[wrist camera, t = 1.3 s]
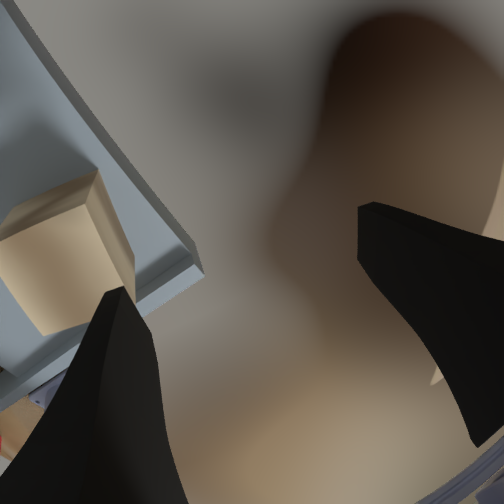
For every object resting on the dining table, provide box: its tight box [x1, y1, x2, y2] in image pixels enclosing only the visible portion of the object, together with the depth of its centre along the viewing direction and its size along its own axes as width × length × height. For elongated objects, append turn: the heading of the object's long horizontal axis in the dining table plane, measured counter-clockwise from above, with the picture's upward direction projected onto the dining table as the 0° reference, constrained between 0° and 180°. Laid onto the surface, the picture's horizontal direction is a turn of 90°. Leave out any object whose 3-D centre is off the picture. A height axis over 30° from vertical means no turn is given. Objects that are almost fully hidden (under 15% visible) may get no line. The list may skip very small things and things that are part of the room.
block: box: [0, 169, 136, 336], centre depth 13 cm, size 5×5×4 cm
